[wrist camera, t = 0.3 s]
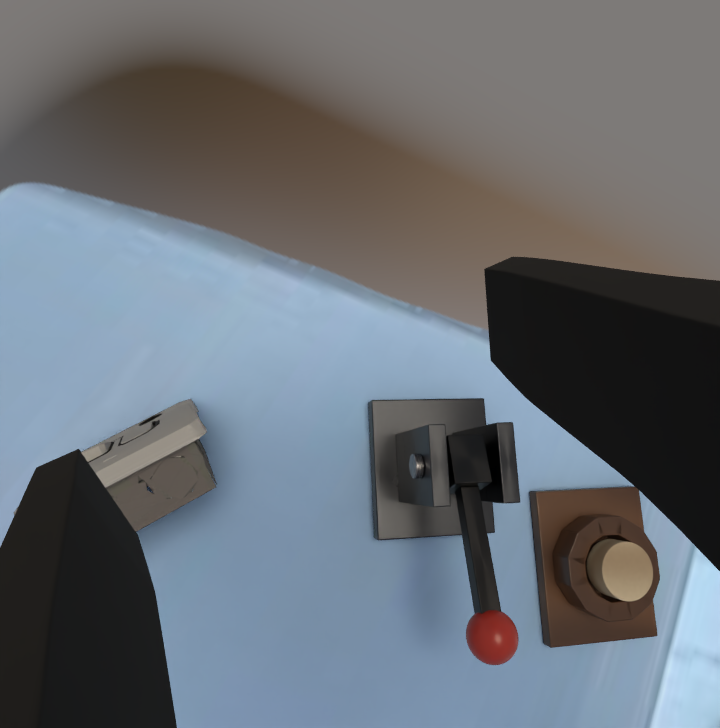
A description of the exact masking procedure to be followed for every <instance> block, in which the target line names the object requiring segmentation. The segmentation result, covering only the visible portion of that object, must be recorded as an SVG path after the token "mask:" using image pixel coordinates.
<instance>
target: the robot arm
mask: <svg viewBox="0 0 720 728" xmlns="http://www.w3.org/2000/svg"><path fill="white" fill-rule="evenodd" d="M485 284H486V298H487V313H488V325H489V326H488V327H489V341H490V355H491V361H492V362H493V363H494V364H495V365H496V367H497V368H498V369H499V370H500V371H501V372H502V373H503V374H504V375H505V377H506V378H507V379H508V380H509V381H510V382H511V383H512V384H513V385H514V386H515V387H516V388H517V389H518V390H519V391H520V392H521V393H522V394H523V395H524V396H525V397H526V398H527V399H528V400H529V401H530V402H532V403H533V404H534V405H535V406H536V407H538V408H539V409H540V410H541V411H542V412H544V413H545V414H546V415H547V416H549V417H550V418H551V419H552V420H554V421H555V422H556V423H557V424H558V425H560V426H561V427H562V428H564V429H565V430H566V431H567V432H569V433H570V434H571V435H572V436H574V437H575V438H576V439H577V440H579V441H580V442H581V443H582V444H584V445H585V446H586V447H587V448H589V449H590V450H591V451H593V452H594V453H595V454H596V455H598V456H599V457H600V458H601V459H603V460H604V461H605V462H606V463H608V464H609V465H610V466H611V467H613V468H614V469H615V470H616V471H618V472H619V473H620V474H621V475H622V476H624V477H625V478H626V479H627V480H628V481H629V482H631V483H632V484H633V485H634V486H635V487H636V488H637V489H639V490H640V491H641V492H642V493H643V494H644V495H645V496H646V497H647V498H648V499H649V500H650V501H651V502H652V503H653V504H654V505H655V506H656V507H657V508H658V509H659V510H660V511H661V512H662V513H663V514H664V515H665V516H666V517H667V518H668V519H669V520H670V521H671V522H672V523H674V524H675V525H676V526H677V527H678V528H679V529H680V530H681V531H682V532H683V533H684V534H685V536H686V537H687V538H688V539H689V540H690V541H691V542H692V543H693V544H694V545H695V546H696V547H697V548H698V549H699V550H700V551H701V552H702V553H703V554H704V555H705V556H706V557H707V558H708V560H709V561H710V562H711V563H712V564H713V565H714V566H715V567H716V568H717V569H718V570H719V571H720V281H716V280H706V279H705V280H704V279H695V278H685V277H675V276H666V275H658V274H649V273H642V272H635V271H627V270H620V269H612V268H606V267H599V266H592V265H584V264H578V263H571V262H563V261H556V260H548V259H538V258H527V257H511V258H509V259H506V260H504V261H502V262H499V263H497V264H495V265H493V266H491V267H488V268H486V269H485ZM0 728H177V725H176V719H175V713H174V706H173V700H172V694H171V687H170V681H169V675H168V668H167V662H166V656H165V649H164V643H163V637H162V631H161V625H160V619H159V613H158V607H157V601H156V595H155V590H154V587H153V583H152V580H151V576H150V573H149V570H148V566H147V563H146V560H145V557H144V553H143V550H142V547H141V544H140V540H139V537H138V535H137V533H136V532H135V530H134V529H133V527H132V526H131V524H130V523H129V521H128V520H127V518H126V517H125V516H124V514H123V513H122V511H121V510H120V508H119V507H118V505H117V504H116V502H115V501H114V500H113V498H112V497H111V495H110V494H109V492H108V491H107V489H106V488H105V486H104V485H103V483H102V482H101V481H100V479H99V478H98V476H97V475H96V473H95V472H94V470H93V469H92V467H91V466H90V465H89V463H88V462H87V460H86V459H85V457H84V456H83V454H82V453H81V451H80V450H79V449H77V450H75V451H73V452H71V453H68V454H66V455H64V456H62V457H59V458H57V459H55V460H53V461H50V462H48V463H46V464H44V465H41V466H39V467H37V468H36V470H35V472H34V474H33V476H32V478H31V480H30V482H29V485H28V487H27V489H26V491H25V493H24V496H23V498H22V500H21V502H20V504H19V507H18V509H17V511H16V514H15V516H14V518H13V520H12V523H11V525H10V527H9V529H8V532H7V534H6V536H5V538H4V541H3V543H2V545H1V547H0Z"/></svg>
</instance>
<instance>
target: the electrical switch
mask: <svg viewBox="0 0 720 728" xmlns="http://www.w3.org/2000/svg"><path fill="white" fill-rule="evenodd" d="M197 412H199V411H198V409H197V407H196V406H195V404H194V403H193V401H192V400H191V399H188V400H185V401H182V402H179V403H177V404H175V405H173V406H171V407H169V408H167V409H165V410H163V411H161V412H159V413H157V414H155V415H153V416H152V417H150V418H148V419H146V420H144V421H142V422H140V423H138V424H136V425H134V426H132V427H130V428H128V429H126V430H124V431H122V432H120V433H118V434H116V435H114V436H112V437H110V438H108V439H106V440H104V441H102V442H100V443H98V444H96V445H94V446H92V447H90V448H88V449H86V450H84V451H82V452H81V453H82V454H83V456H84V457H85V459H86V460H87V462H88V463H89V465H90V466H91V467H92V469H93V470H94V472H95V473H96V475H97V476H98V478H99V479H100V481H101V482H102V483H103V485H104V486H105V488H106V489H107V491H108V492H109V494H110V495H111V497H112V498H113V500H114V501H115V502H116V504H117V505H118V507H119V508H120V510H121V511H122V513H123V514H124V516H125V517H126V518H127V520H128V521H129V523H130V524H131V526H132V527H133V529H134V530H135V532H136V531H138V530H140V529H142V528H144V527H145V526H147V525H149V524H151V523H153V522H154V521H156V520H158V519H160V518H162V517H163V516H165V515H167V514H169V513H171V512H172V511H174V510H176V509H178V508H180V507H181V506H183V505H185V504H187V503H189V502H190V501H192V500H194V499H196V498H198V497H199V496H201V495H203V494H205V493H207V492H208V491H210V490H212V489H214V488H216V485H215V483H216V481H215V478H214V475H213V472H212V469H211V466H210V463H209V461H208V458H207V455H206V452H205V450H204V448H203V446H202V444H201V442H200V440H199V438H200V437H202V436H203V435H204V434H205V433H206V432H207V430H206V428H205V426H204V425H203V424H202V422H201V421H200V419H199V417H198V414H197ZM208 471H209V472H208ZM209 473H210V474H209ZM210 475H211V476H212V478H213V479H214V481H215V483H214V481H213V480H212V478H211V476H210ZM216 484H217V483H216ZM148 486H149V487H150V488H151V490H152V491H153V493H154V494H153V493H151V492H149V491H147V487H148ZM192 490H193V492H192ZM17 509H18V508H17ZM17 509H16V511H17ZM16 511H15V512H14V514H16Z"/></svg>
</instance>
